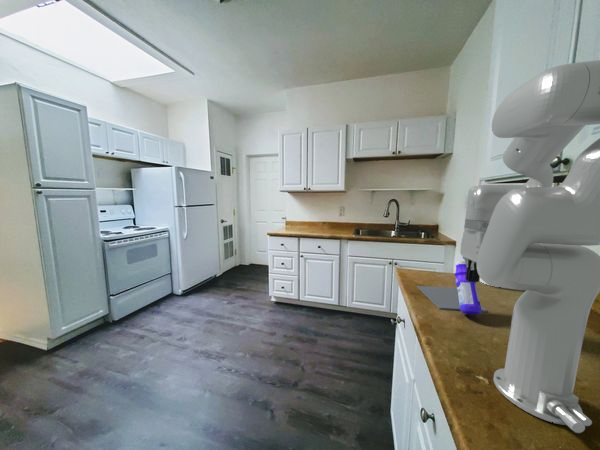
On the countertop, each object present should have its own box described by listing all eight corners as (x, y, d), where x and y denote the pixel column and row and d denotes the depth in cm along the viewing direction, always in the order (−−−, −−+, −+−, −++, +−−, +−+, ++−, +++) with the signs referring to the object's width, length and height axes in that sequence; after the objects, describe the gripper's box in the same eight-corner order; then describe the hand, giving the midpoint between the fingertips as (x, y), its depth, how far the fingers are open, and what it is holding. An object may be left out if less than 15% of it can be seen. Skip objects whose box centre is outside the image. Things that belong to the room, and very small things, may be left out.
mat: (487, 312, 81) (487, 310, 81) (439, 309, 83) (439, 307, 83) (455, 289, 101) (455, 287, 101) (416, 287, 103) (417, 285, 103)
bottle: (459, 314, 81) (451, 265, 88) (479, 315, 78) (469, 265, 86) (462, 310, 75) (453, 259, 83) (484, 312, 73) (473, 258, 80)
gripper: (510, 229, 66) (501, 291, 69) (476, 222, 81) (469, 273, 84) (482, 228, 67) (474, 289, 70) (453, 222, 82) (447, 272, 84)
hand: (471, 280), depth 77 cm, fingers closed
